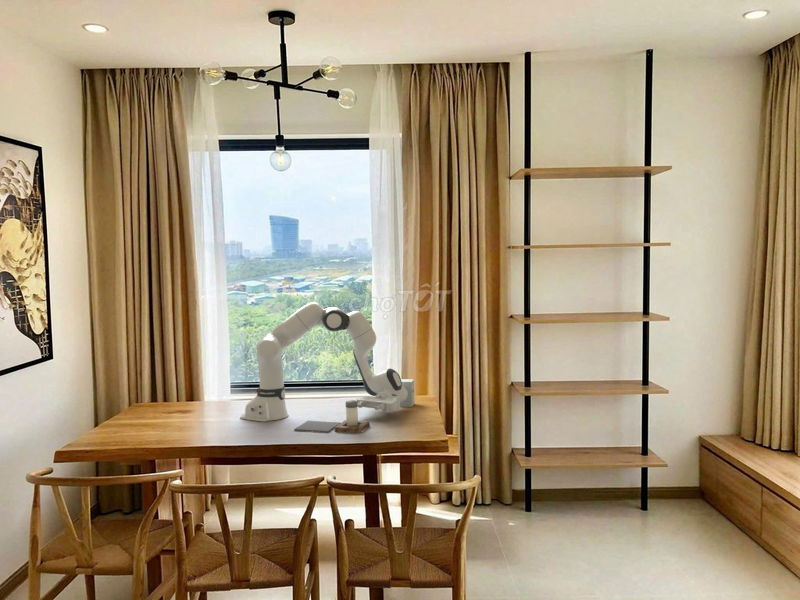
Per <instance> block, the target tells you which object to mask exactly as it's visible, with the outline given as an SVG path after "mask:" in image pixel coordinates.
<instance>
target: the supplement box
mask: <svg viewBox="0 0 800 600" xmlns="http://www.w3.org/2000/svg"><path fill="white" fill-rule="evenodd" d="M401 383H402V386H404V387H405V388H406V390H407V393H408V395H407V399H406V400H405V401H404V402H403V403H402V404H400V408H413V406H414V404H415V379H414V378H413V379H412V378H409V379H407V378H405V379H404V378H401Z"/></svg>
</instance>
